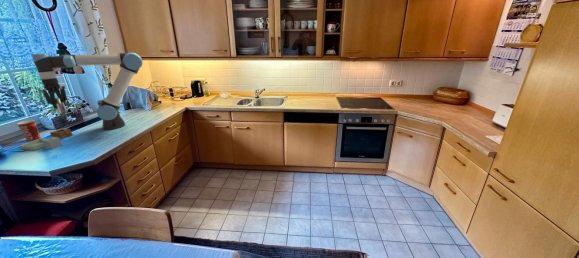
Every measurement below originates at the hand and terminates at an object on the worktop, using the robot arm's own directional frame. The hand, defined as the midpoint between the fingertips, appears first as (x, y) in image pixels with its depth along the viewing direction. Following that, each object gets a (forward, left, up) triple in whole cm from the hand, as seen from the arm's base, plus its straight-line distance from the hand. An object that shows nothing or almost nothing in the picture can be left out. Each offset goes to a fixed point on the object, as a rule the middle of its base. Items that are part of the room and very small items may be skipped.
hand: (62, 112), depth 166 cm
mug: (+5, -28, -21) cm, 35 cm away
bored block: (-2, -12, -20) cm, 24 cm away
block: (+13, +1, -21) cm, 24 cm away
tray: (+14, -11, -20) cm, 27 cm away
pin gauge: (0, 0, -4) cm, 4 cm away
